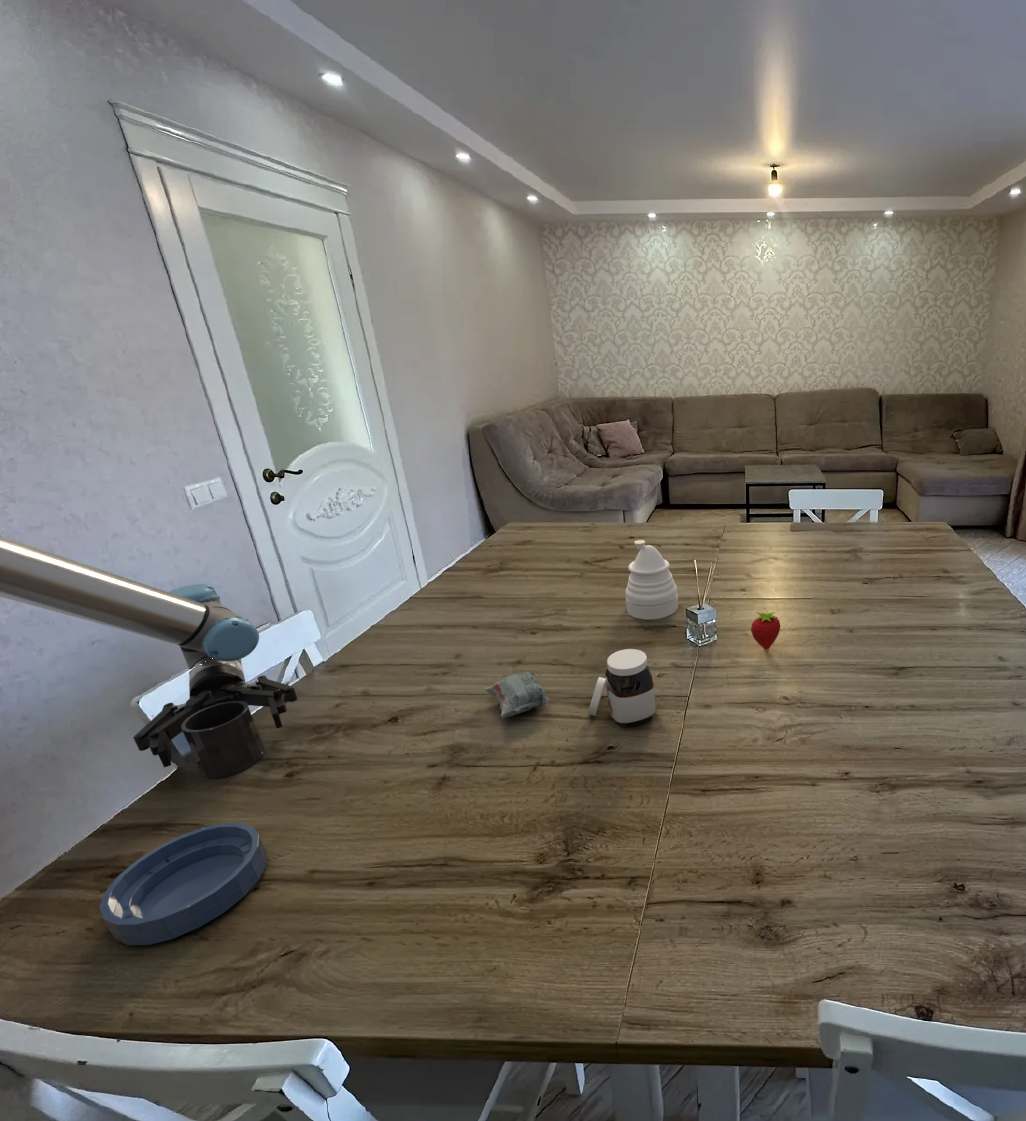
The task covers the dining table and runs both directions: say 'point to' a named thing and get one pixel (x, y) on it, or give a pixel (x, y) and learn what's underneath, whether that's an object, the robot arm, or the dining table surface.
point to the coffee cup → (223, 739)
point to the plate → (183, 884)
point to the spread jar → (626, 688)
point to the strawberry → (765, 629)
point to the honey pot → (650, 585)
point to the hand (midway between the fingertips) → (223, 739)
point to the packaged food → (518, 694)
